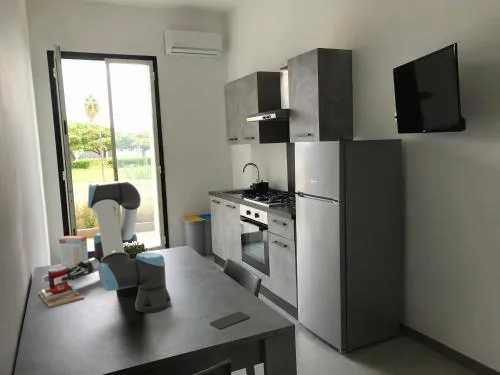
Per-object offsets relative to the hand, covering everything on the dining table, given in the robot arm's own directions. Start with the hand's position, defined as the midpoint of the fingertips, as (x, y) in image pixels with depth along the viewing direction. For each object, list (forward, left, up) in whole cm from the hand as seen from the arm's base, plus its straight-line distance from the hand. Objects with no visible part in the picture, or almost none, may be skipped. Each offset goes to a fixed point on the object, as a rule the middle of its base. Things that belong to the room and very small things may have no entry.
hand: (48, 280), depth 185 cm
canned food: (+2, -4, -7) cm, 8 cm away
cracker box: (+35, -20, -9) cm, 41 cm away
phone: (-78, -48, -9) cm, 92 cm away
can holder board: (-1, -4, -9) cm, 10 cm away
